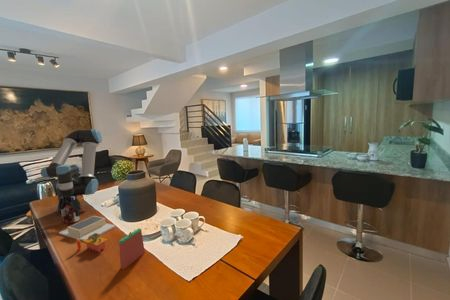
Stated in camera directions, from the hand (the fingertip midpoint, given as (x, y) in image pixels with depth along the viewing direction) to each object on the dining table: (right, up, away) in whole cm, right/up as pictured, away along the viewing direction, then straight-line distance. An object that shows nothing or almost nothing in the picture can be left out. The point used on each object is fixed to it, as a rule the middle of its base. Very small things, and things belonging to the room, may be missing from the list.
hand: (71, 219), depth 142 cm
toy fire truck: (0, -2, 0) cm, 2 cm away
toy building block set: (+45, -5, -36) cm, 58 cm away
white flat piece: (+20, -3, -13) cm, 23 cm away
